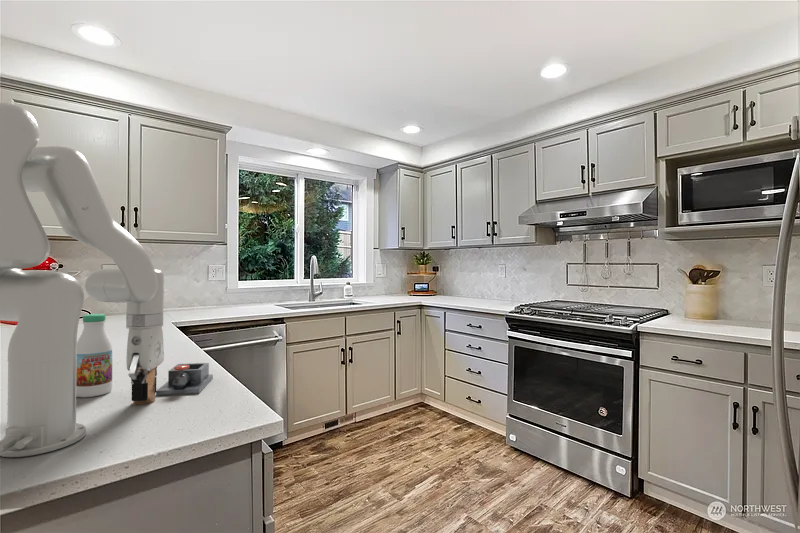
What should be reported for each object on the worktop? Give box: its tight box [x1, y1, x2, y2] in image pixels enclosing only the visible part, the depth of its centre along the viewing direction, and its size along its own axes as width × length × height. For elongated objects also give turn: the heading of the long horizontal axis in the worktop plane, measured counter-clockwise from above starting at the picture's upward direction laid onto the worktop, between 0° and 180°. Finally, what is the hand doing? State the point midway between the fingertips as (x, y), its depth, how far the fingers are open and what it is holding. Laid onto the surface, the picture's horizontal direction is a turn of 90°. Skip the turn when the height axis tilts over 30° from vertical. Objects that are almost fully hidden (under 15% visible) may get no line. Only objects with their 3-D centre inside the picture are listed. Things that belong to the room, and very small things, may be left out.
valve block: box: [155, 362, 214, 397], centre depth 110 cm, size 14×10×6 cm
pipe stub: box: [132, 367, 156, 406], centre depth 97 cm, size 4×4×8 cm
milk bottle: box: [76, 313, 113, 398], centre depth 103 cm, size 8×8×20 cm
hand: (144, 396), depth 97 cm, fingers closed on pipe stub, 4 cm apart
